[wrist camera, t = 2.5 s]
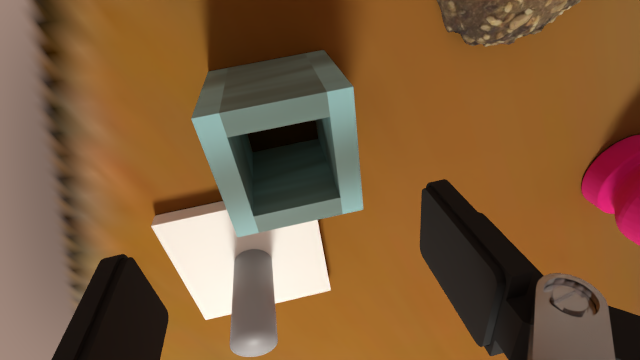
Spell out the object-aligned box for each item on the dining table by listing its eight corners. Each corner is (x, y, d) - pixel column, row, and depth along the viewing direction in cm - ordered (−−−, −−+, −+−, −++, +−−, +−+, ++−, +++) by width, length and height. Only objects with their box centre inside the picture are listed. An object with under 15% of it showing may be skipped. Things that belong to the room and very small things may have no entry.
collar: (208, 71, 17) (191, 118, 12) (323, 49, 17) (353, 86, 12) (240, 169, 20) (237, 237, 15) (336, 149, 21) (363, 209, 16)
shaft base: (155, 215, 21) (119, 312, 15) (309, 182, 22) (331, 263, 16) (207, 308, 27) (195, 404, 21) (328, 280, 27) (349, 365, 22)
